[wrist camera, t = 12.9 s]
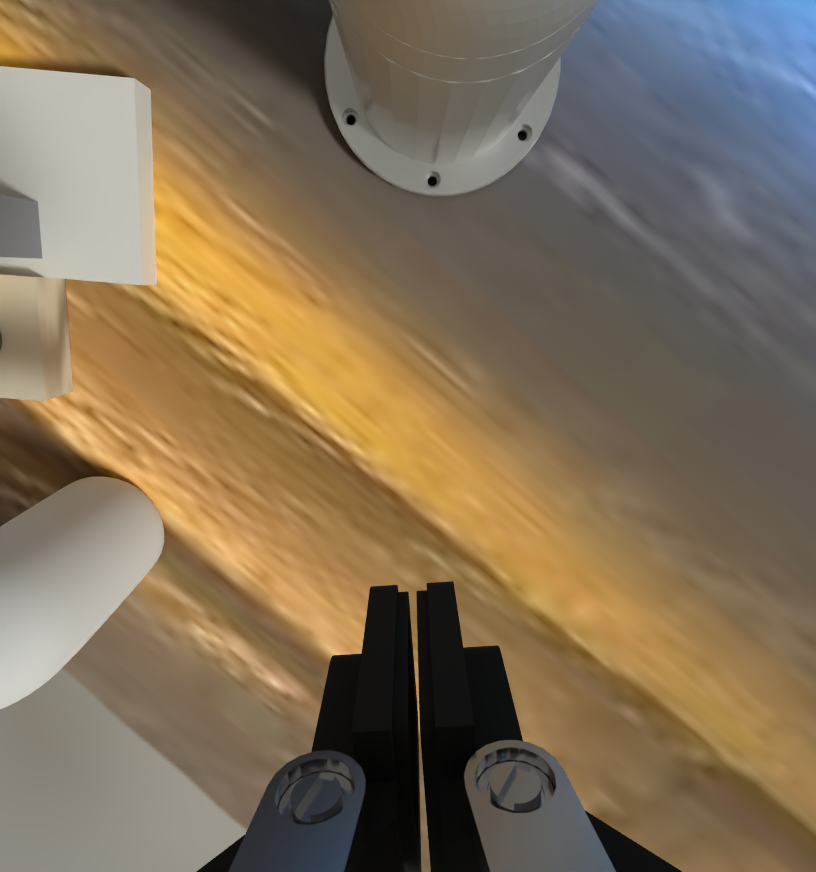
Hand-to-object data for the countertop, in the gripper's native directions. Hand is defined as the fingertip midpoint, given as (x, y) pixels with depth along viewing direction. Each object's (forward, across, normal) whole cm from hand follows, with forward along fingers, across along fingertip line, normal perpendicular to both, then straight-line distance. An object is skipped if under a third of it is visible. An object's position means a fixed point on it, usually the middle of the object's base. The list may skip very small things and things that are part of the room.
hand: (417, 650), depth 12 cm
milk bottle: (+27, +21, +7) cm, 35 cm away
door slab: (+26, +21, -14) cm, 37 cm away
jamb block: (+26, +24, -6) cm, 36 cm away
